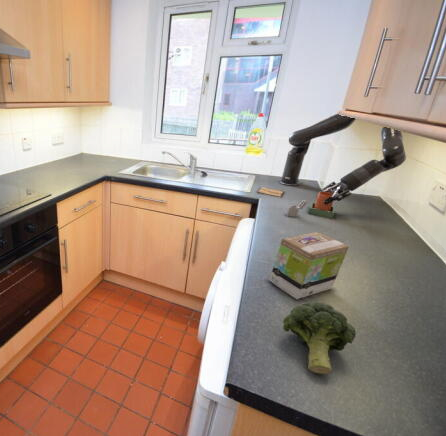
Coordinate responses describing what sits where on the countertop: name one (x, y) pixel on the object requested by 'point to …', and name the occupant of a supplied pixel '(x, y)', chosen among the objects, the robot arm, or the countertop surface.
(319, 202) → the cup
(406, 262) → the countertop surface
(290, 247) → the tea box
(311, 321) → the vegetable
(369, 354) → the countertop surface
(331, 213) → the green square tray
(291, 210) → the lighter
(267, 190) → the coaster
